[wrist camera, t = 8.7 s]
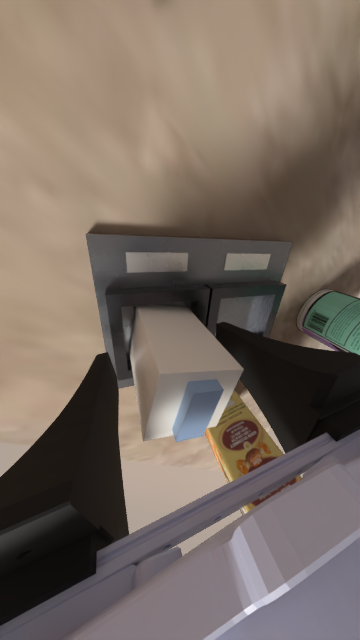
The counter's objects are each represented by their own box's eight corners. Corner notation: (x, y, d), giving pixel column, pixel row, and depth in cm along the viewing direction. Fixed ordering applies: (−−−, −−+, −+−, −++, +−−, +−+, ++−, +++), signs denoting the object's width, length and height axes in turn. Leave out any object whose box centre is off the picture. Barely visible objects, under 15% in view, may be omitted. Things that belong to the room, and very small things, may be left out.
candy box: (182, 380, 19) (333, 707, 6) (217, 363, 19) (421, 628, 7) (198, 421, 24) (302, 653, 11) (226, 407, 24) (355, 610, 12)
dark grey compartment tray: (284, 241, 15) (306, 243, 13) (250, 354, 21) (262, 366, 19) (87, 233, 10) (83, 235, 9) (112, 382, 16) (112, 401, 14)
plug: (187, 307, 14) (252, 378, 8) (176, 349, 16) (221, 437, 9) (136, 302, 12) (163, 386, 6) (129, 350, 14) (145, 455, 8)
